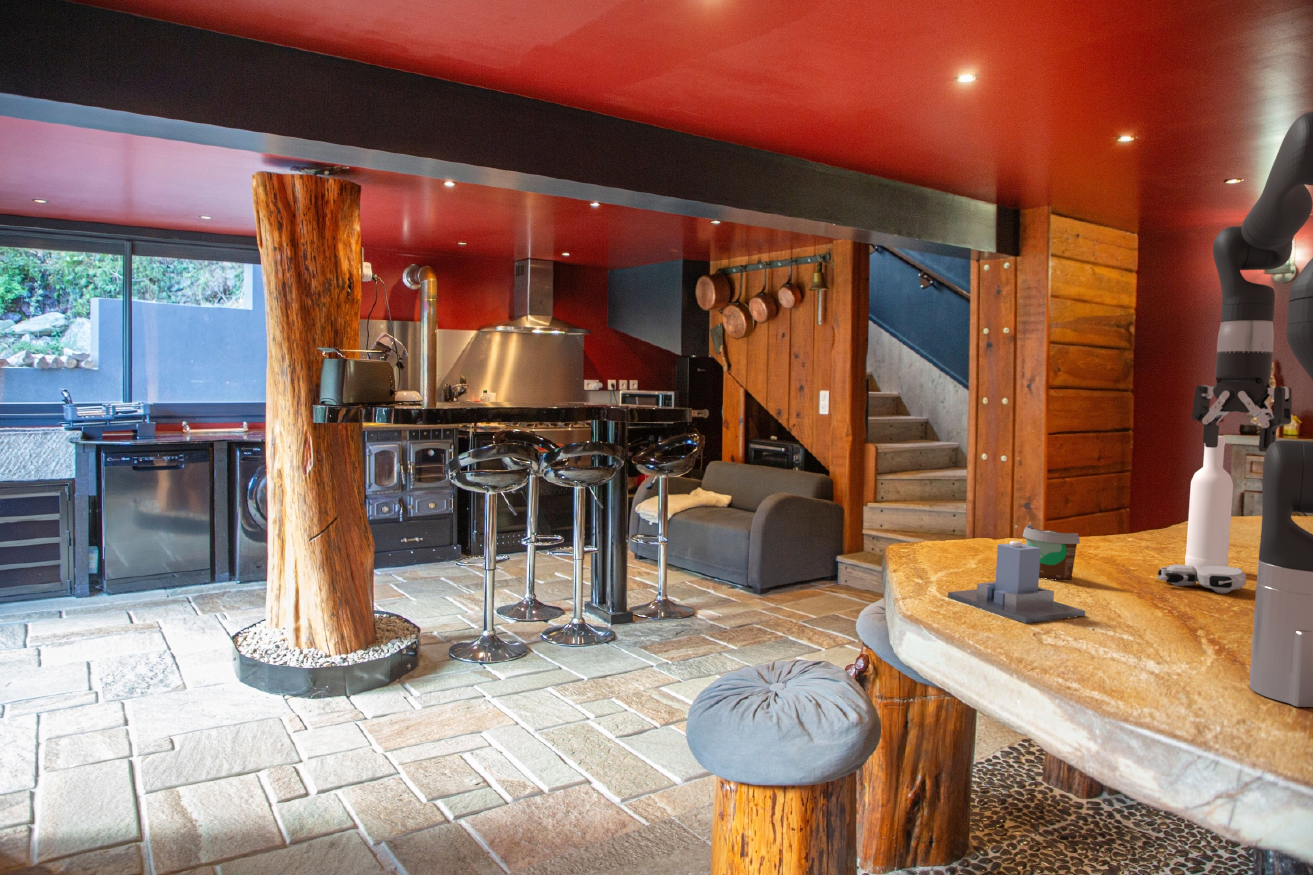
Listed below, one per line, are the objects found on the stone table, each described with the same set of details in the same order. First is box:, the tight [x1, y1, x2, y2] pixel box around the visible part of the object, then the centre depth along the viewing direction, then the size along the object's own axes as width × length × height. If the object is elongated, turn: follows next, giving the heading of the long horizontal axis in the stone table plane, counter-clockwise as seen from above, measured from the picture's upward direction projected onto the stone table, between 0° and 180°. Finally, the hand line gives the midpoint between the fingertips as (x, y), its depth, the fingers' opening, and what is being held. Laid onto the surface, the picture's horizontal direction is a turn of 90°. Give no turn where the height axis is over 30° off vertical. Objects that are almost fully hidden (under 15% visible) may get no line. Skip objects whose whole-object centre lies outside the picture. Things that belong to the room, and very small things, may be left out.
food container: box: [1022, 524, 1081, 581], centre depth 178 cm, size 12×6×10 cm, turn 25°
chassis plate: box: [947, 581, 1086, 624], centre depth 152 cm, size 18×14×4 cm
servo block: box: [994, 540, 1041, 605], centre depth 152 cm, size 5×7×11 cm
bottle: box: [1184, 435, 1234, 570], centre depth 187 cm, size 8×8×30 cm
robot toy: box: [1157, 564, 1247, 594], centre depth 172 cm, size 12×4×15 cm
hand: (1237, 449), depth 139 cm, fingers open, 8 cm apart
